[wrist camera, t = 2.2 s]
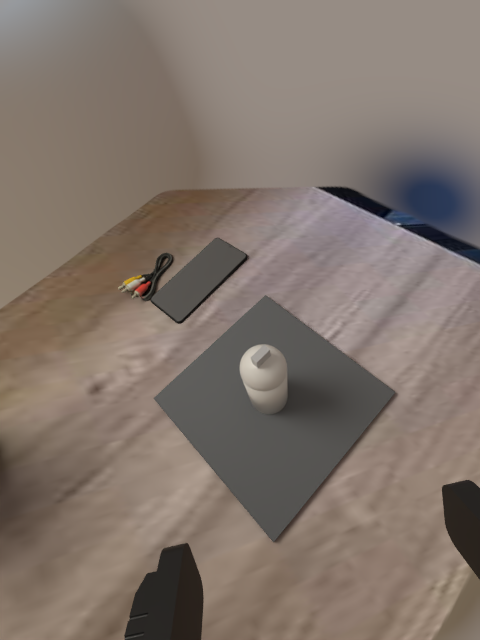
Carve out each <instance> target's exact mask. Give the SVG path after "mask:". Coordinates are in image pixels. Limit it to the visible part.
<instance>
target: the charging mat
mask: <svg viewBox="0 0 480 640" xmlns="http://www.w3.org/2000/svg"><path fill="white" fill-rule="evenodd" d="M261 344H266V345H271V346H273V347H275V348H277V349H278V350H279V351H280V352H281V353H282V354H283V356H284V357H285V360H286V363H287V385H288V398H287V403H286V405H285V406H284V408H283V409H282V410H281V411H279V412H277V413H275V414H263V413H261V412H259V411H257V410H256V409H255V408H254V406H253V405H252V403H251V400H250V398H249V395H248V393H247V390H246V388H245V385H244V383H243V380H242V378H241V375H240V361H241V359H242V357H243V355H244V354H245V352H246V351H247V350H248V349H250V348H251V347H253V346H256V345H261ZM394 393H395V391H393V390H392V389H390V388H389V387H388V386H386V385H385V384H384V383H382V382H381V381H380V380H378V379H377V378H376V377H374V376H373V375H372V374H370V373H369V372H368V371H366V370H365V369H364V368H362V367H361V366H360V365H358V364H357V363H356V362H354V361H353V360H352V359H350V358H349V357H348V356H346V355H345V354H344V353H342V352H341V351H340V350H338V349H337V348H335V347H334V346H333V345H331V344H330V343H329V342H327V341H326V340H325V339H323V338H322V337H321V336H319V335H318V334H317V333H315V332H314V331H313V330H311V329H310V328H309V327H307V326H306V325H305V324H303V323H302V322H301V321H299V320H298V319H297V318H295V317H294V316H293V315H291V314H290V313H289V312H287V311H286V310H285V309H283V308H282V307H281V306H279V305H278V304H276V303H275V302H274V301H272V300H271V299H270V298H268V297H267V296H266V295H265V296H264V297H263V298H262V299H261V300H260V301H259V302H258V303H257V304H256V305H254V306H253V307H252V308H251V309H250V310H249V311H248V312H247V313H246V314H245V315H244V316H242V317H241V318H240V319H239V320H238V321H237V322H236V323H235V324H234V325H233V326H232V327H231V328H229V329H228V330H227V331H226V332H225V333H224V334H223V335H222V336H221V337H220V338H219V339H217V340H216V341H215V342H214V343H213V344H212V345H211V346H210V347H209V348H208V349H207V350H206V351H204V352H203V353H202V354H201V355H200V356H199V357H198V358H197V359H196V360H195V361H194V362H193V363H191V364H190V365H189V366H188V367H187V368H186V369H185V370H184V371H183V372H182V373H181V374H179V375H178V376H177V377H176V378H175V379H174V380H173V381H172V382H171V383H170V384H169V385H168V386H166V387H165V388H164V389H163V390H162V391H161V392H160V393H159V394H158V395H157V396H156V397H155V398H154V399H155V401H156V402H157V403H158V404H159V405H160V407H161V408H162V409H163V410H164V411H165V413H166V414H167V415H168V416H169V417H170V419H171V420H172V421H173V422H174V423H175V425H176V426H177V427H178V428H179V429H180V431H181V432H182V433H183V434H184V435H185V437H186V438H187V439H188V440H189V441H190V443H191V444H192V445H193V446H194V447H195V449H196V450H197V451H198V452H199V453H200V455H201V456H202V457H203V458H204V459H205V461H206V462H207V463H208V464H209V465H210V467H211V468H212V469H213V470H214V471H215V473H216V474H217V475H218V476H219V477H220V479H221V480H222V481H223V482H224V483H225V485H226V486H227V487H228V488H229V489H230V491H231V492H232V493H233V494H234V496H235V497H236V498H237V499H238V500H239V502H240V503H241V504H242V505H243V506H244V508H245V509H246V510H247V511H248V512H249V514H250V515H251V516H252V517H253V518H254V520H255V521H256V522H257V523H258V524H259V526H260V527H261V528H262V529H263V530H264V532H265V533H266V534H267V535H268V536H269V538H270V539H271V540H272V541H273V542H274V541H275V540H276V539H277V537H278V536H279V535H280V534H281V532H282V531H283V530H284V529H285V528H286V526H287V525H288V524H289V523H290V521H291V520H292V519H293V518H294V516H295V515H296V514H297V513H298V512H299V510H300V509H301V508H302V507H303V505H304V504H305V503H306V502H307V500H308V499H309V498H310V497H311V496H312V494H313V493H314V492H315V491H316V489H317V488H318V487H319V486H320V484H321V483H322V482H323V481H324V480H325V478H326V477H327V476H328V475H329V473H330V472H331V471H332V470H333V468H334V467H335V466H336V465H337V464H338V462H339V461H340V460H341V459H342V457H343V456H344V455H345V454H346V452H347V451H348V450H349V449H350V448H351V446H352V445H353V444H354V443H355V441H356V440H357V439H358V438H359V436H360V435H361V434H362V433H363V432H364V430H365V429H366V428H367V427H368V425H369V424H370V423H371V422H372V420H373V419H374V418H375V417H376V416H377V414H378V413H379V412H380V411H381V409H382V408H383V407H384V406H385V404H386V403H387V402H388V401H389V400H390V398H391V397H392V396H393V395H394Z"/></svg>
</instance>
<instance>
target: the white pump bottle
mask: <svg viewBox="0 0 480 640" xmlns="http://www.w3.org/2000/svg"><path fill="white" fill-rule="evenodd" d="M240 375H241V378H242V380H243V383H244V385H245V388H246V390H247V393H248V395H249V398H250V400H251V403H252V405H253V406H254V408H255V409H256V410H257V411H259V412H261V413H263V414H275V413H277V412H279V411H281V410H282V409H283V408H284V406H285V405H286V403H287V398H288V385H287V363H286V360H285V357H284V356H283V354H282V353H281V352H280V351H279V350H278V349H277V348H275V347H273V346H271V345H266V344H261V345H256V346H253V347H251V348H250V349H248V350H247V351H246V352H245V354H244V355H243V357H242V359H241V361H240Z"/></svg>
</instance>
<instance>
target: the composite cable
mask: <svg viewBox="0 0 480 640" xmlns="http://www.w3.org/2000/svg"><path fill="white" fill-rule="evenodd" d="M165 258H169V260H168V261H167V263H166V264H165V265H164V266H163V267H162V268H161V269H160V266H161V263H162V261H163V260H164V259H165ZM171 262H172V256H171V254H169V253H163V254H161V255H160V256H159V257H158V258H157V260H156V266H155V269H154V271H153V272H152V273H151V274H144V275H139V276H138V277H132V278H130V279H128V280H126V281H124V283H123V285H122V286H120V287H118V288H119V289H120V290H121V289H122V288H124V287H126V288H125V289H124V290H122V293H124V292H126V291H129V292H130V291H133V292H131V293H130V294H131V295H132V297H131V298H132V299H133V298H135V297H139V296H140V297H141V298H142V299H143V300H144V301H147V300H149V299H150V298H151V297H152V296H153V294H154V292H155V287H156V283H157V280H158V278H159V277H160V276H161V274H162V273H163V272H164V271H165V270H166V269H167V268H168V267H169V266H170V264H171ZM159 269H160V270H159ZM144 276H145V277H144ZM151 284H152V287H151V290H150V292H149V293H148V294H147V295H146V296H144V292H145V291H147V289H148V287H149V286H150V285H151Z"/></svg>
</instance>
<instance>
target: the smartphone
mask: <svg viewBox="0 0 480 640" xmlns="http://www.w3.org/2000/svg"><path fill="white" fill-rule="evenodd" d="M246 260H247V255H246V254H245V253H244V252H242V251H240V250H238V249H237V248H235V247H233V246H232V245H230V244H228V243H227V242H225V241H223V240H221V239H220V238H215V239H214V240H213V241H212V242H211V243H210V244H209V245H207V246H206V247H205V248H204V249H203V250H202V251H201V252H200V253H199V254H198V255H197V256H196V257H195V258H193V259H192V260H191V261H190V262H189V263H188V264H187V265H186V266H185V267H184V268H183V269H182V270H181V271H179V272H178V273H177V274H176V275H175V276H174V277H173V278H172V279H171V280H170V281H169V282H168V283H166V284H165V285H164V286H163V287H162V288H161V289H160V290H159V291H158V292H157V293H156V294H155V295H154V296H152V297H151V302H152V303H153V304H154V305H155V306H157V307H158V308H159V309H160V310H161V311H163V312H164V313H165V314H166V315H168V316H169V317H170V318H171V319H173V320H174V321H175V322H176V323H178V324H180V323H182V322H183V321H184V320H185V319H186V318H187V317H188V316H189V315H190V314H191V313H192V312H193V311H195V310H196V309H197V308H198V307H199V306H200V305H201V304H202V303H203V302H204V301H205V300H206V299H207V298H208V297H209V296H210V295H211V294H212V293H213V292H214V291H215V290H216V289H217V288H218V287H219V286H220V285H221V284H222V283H223V282H224V281H225V280H226V279H227V278H228V277H229V276H230V275H231V274H232V273H233V272H234V271H235V270H236V269H237V268H238V267H239V266H241V265H242V264H243V263H244V262H245V261H246Z"/></svg>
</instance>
